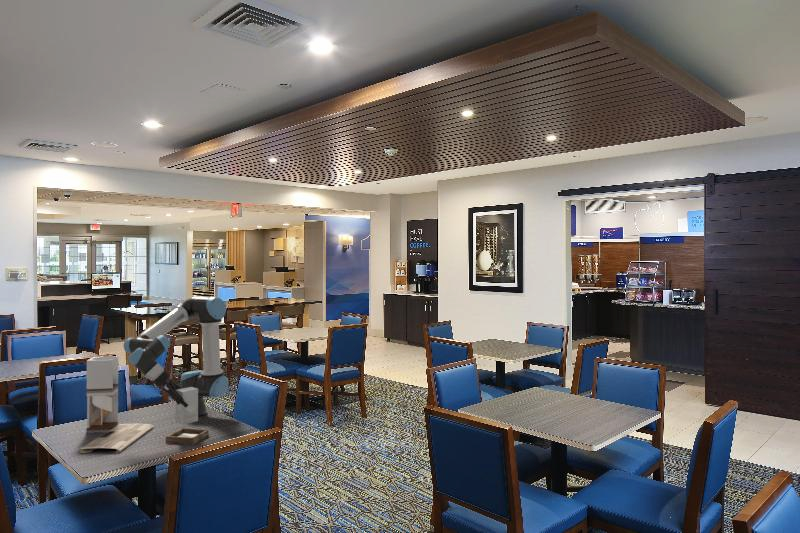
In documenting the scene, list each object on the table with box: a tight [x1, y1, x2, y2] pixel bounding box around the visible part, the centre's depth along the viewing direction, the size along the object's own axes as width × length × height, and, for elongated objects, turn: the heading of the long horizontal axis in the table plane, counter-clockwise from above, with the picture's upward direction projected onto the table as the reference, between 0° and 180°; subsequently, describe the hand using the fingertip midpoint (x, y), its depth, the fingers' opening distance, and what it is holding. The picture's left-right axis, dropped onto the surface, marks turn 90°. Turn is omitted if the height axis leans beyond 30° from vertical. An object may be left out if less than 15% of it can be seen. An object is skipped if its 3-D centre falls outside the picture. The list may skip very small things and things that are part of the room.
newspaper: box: [77, 422, 155, 454], centre depth 260 cm, size 37×19×3 cm, turn 2°
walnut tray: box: [165, 427, 209, 446], centre depth 261 cm, size 14×14×3 cm
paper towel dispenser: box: [85, 355, 119, 434], centre depth 275 cm, size 11×11×35 cm
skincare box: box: [175, 387, 199, 426], centre depth 261 cm, size 8×7×16 cm
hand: (194, 408), depth 262 cm, fingers closed on skincare box, 10 cm apart
